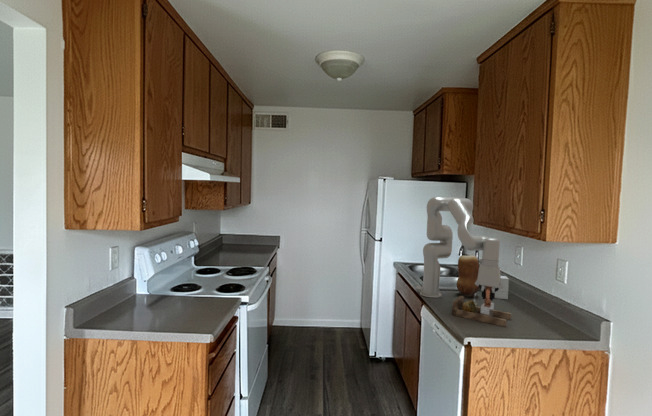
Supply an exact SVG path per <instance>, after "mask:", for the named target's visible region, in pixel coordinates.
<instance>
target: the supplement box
mask: <svg viewBox="0 0 652 416" xmlns="http://www.w3.org/2000/svg"><path fill="white" fill-rule="evenodd" d="M501 284H502V286H503V289H500V290H498V291H496V292H495V298H494V299H500V300H501V299H502V300H509V298H508V297H509V284H510V278H508V277H507V276H506V275H501ZM498 287H499V286H498ZM496 288H497V287H496Z"/></svg>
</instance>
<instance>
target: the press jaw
mask: <svg viewBox="0 0 652 416" xmlns="http://www.w3.org/2000/svg"><path fill="white" fill-rule="evenodd" d="M491 292H492V287H490V286H485V299H484V302H483V303H482V304H481V305H480V307H481V313H479V314H482V315H487V316H492V317H494V316H493V312H494V310H495V308H494V307H495V303H494V302H492V301H491Z"/></svg>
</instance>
